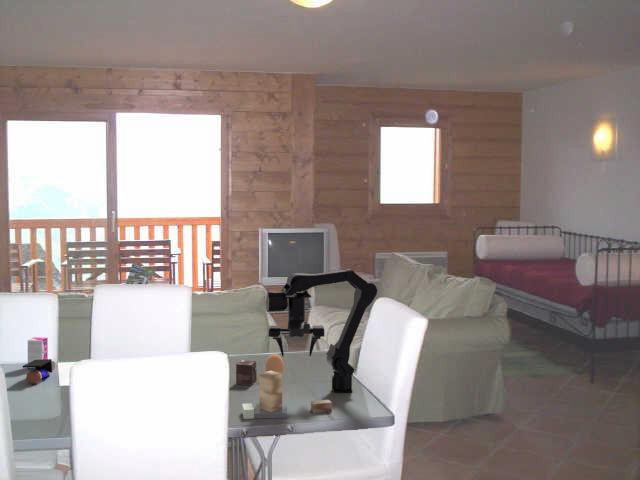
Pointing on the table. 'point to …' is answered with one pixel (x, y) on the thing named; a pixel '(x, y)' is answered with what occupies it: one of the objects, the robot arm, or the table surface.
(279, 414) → the slate tile
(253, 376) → the box
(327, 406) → the walnut brick
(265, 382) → the oak block
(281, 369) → the egg
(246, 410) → the sage brick
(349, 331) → the robot arm
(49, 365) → the figurine character
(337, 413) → the table surface
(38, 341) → the supplement box
